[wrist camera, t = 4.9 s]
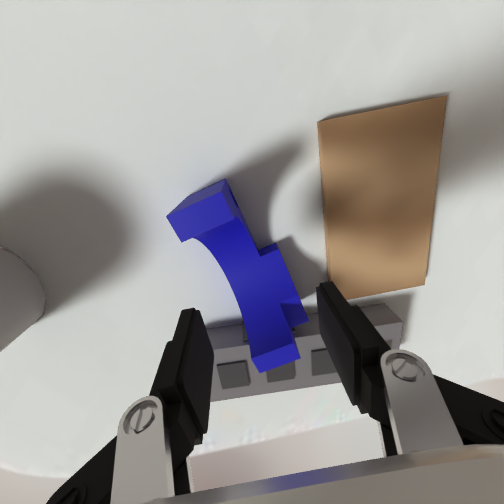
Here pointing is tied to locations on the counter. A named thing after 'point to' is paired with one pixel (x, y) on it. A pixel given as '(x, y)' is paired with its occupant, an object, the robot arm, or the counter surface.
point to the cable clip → (246, 273)
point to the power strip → (291, 374)
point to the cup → (18, 297)
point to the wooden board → (380, 195)
